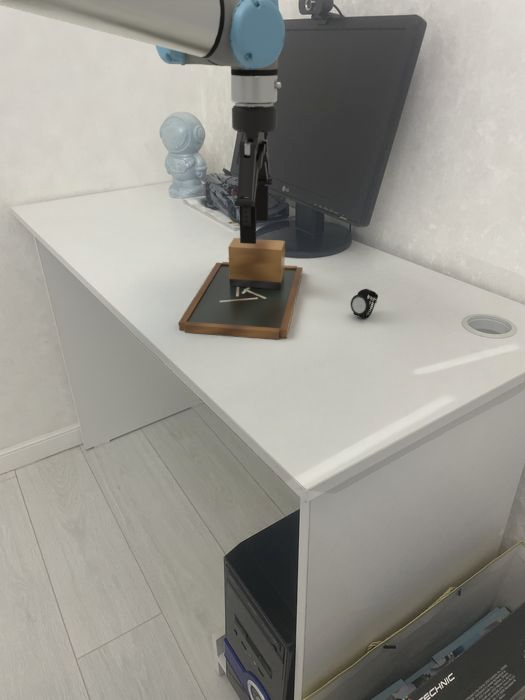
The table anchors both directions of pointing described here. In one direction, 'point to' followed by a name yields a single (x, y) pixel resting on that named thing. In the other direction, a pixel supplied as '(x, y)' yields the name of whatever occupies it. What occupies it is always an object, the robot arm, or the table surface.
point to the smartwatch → (363, 303)
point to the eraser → (257, 264)
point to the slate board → (242, 306)
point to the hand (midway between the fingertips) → (254, 230)
